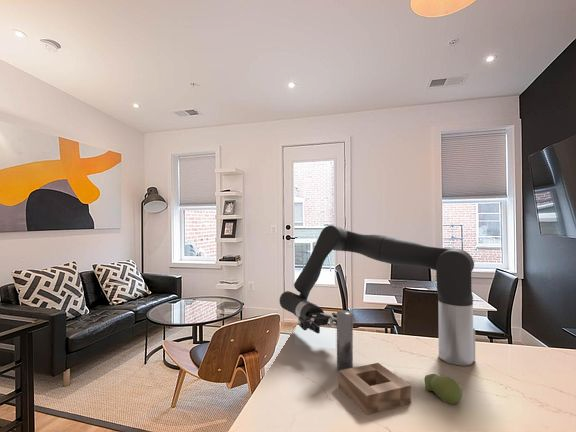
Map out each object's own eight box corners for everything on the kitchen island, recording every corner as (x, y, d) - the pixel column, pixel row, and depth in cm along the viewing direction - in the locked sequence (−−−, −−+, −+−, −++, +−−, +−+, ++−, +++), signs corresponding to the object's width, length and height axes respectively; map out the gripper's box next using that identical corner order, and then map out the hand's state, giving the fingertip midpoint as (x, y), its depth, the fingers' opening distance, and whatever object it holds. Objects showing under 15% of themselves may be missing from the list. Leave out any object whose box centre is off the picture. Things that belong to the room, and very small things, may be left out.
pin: (347, 364, 89) (347, 309, 90) (355, 371, 85) (355, 314, 85) (334, 367, 88) (334, 311, 88) (342, 374, 84) (342, 315, 84)
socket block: (378, 377, 82) (378, 362, 82) (410, 402, 71) (410, 385, 71) (338, 386, 78) (338, 370, 78) (366, 414, 67) (366, 395, 67)
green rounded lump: (445, 383, 69) (417, 370, 78) (448, 409, 68) (419, 392, 77) (466, 380, 70) (436, 367, 80) (469, 405, 69) (438, 389, 79)
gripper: (290, 304, 107) (310, 318, 92) (327, 301, 112) (351, 313, 97) (290, 326, 107) (310, 344, 91) (327, 321, 112) (351, 337, 97)
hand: (331, 328), depth 94 cm, fingers open, 8 cm apart
